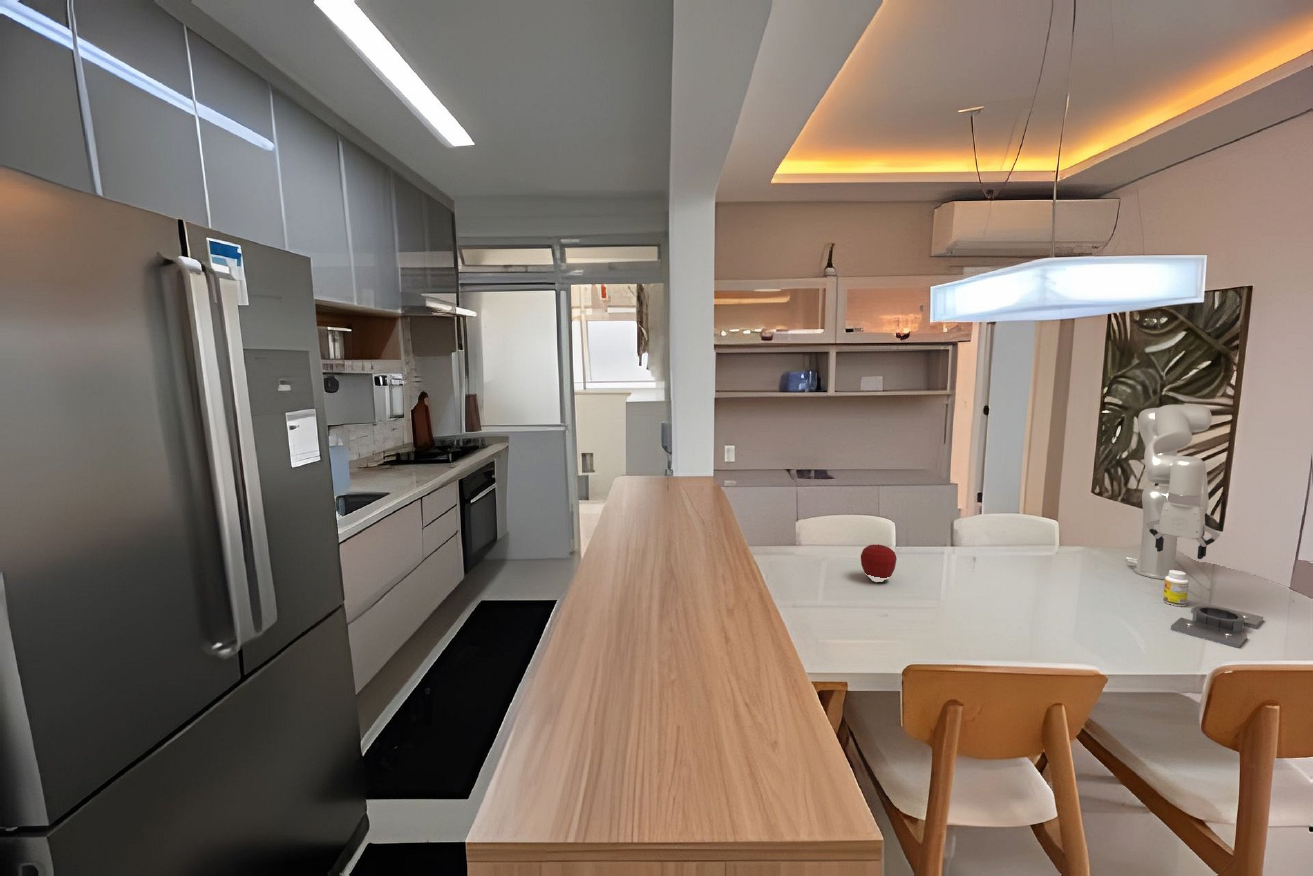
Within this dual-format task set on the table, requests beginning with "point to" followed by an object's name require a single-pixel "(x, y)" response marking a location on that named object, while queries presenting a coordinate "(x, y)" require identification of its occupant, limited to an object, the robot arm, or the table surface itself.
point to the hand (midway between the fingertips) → (1179, 554)
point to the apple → (878, 561)
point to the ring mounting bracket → (1218, 624)
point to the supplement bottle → (1176, 588)
